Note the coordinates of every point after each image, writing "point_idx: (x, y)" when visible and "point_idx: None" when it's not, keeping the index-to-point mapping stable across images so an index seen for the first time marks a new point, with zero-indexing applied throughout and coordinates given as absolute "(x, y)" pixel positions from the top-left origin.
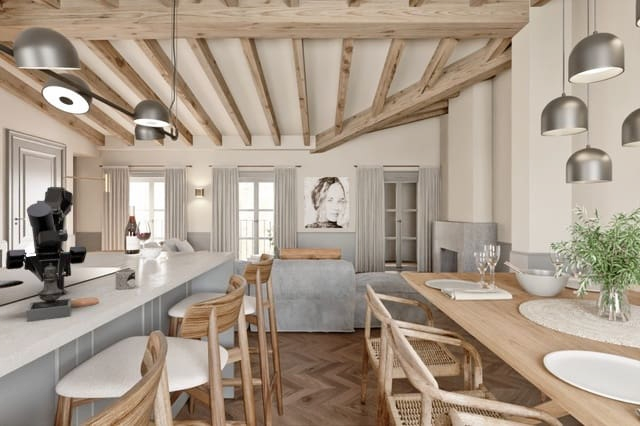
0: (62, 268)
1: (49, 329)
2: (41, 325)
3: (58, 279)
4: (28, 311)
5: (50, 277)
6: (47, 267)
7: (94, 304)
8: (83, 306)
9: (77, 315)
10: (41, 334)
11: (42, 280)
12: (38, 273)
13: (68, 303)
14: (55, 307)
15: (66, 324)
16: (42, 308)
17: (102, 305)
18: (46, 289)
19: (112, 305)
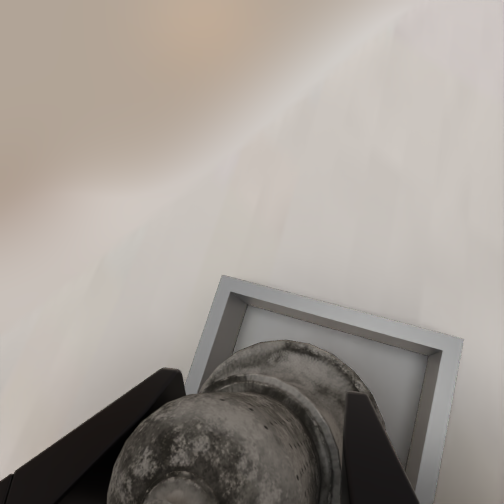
0: (41, 461)
1: (372, 117)
2: (390, 208)
3: None
4: (452, 336)
5: (263, 392)
6: (255, 467)
7: None
8: None
9: (209, 279)
10: (413, 66)
11: (359, 395)
12: (412, 493)
13: (209, 346)
14: (297, 295)
15: (296, 149)
16: (367, 323)
17: (42, 406)
18: (320, 405)
19: (16, 360)
